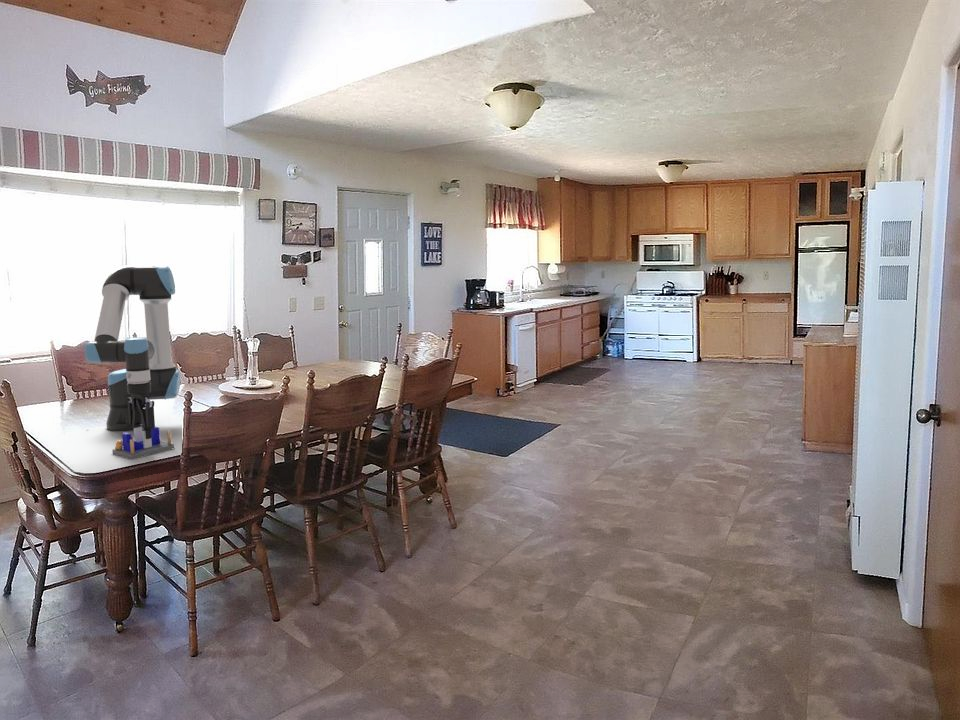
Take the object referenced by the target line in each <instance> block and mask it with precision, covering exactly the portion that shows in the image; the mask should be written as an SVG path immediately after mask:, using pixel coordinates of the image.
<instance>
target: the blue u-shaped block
mask: <svg viewBox="0 0 960 720" xmlns="http://www.w3.org/2000/svg"><path fill="white" fill-rule="evenodd" d="M121 435H122V441H123V450H125V451H129V452H131V449H130V440H131V439H133V437H132V434H131V433H129V432H122V433H121ZM151 440H152V446H153V445H157V444H160V441H161V435H160V427H157V426H155V428H152V429H151ZM141 449H145V448H144V447H143V441H141V442H135V440H134V450H135V451H136V450H141Z"/></svg>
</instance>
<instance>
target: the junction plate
mask: <svg viewBox="0 0 960 720" xmlns="http://www.w3.org/2000/svg"><path fill="white" fill-rule="evenodd" d="M166 436H167V442H166V441H161V440H160V444H157V445H153V446H152V447H149V448H145V449H141V450H136V451H135V450H134V441H135V439H134V438H132V439H131V440H130V449H131V452H129V451H125V450H123V449H121V450H118V449H115V448H112V449H111V450H112V451H111V452H112V454H113V455H115V454H116V455H117V456H119V455H120V456H119V457H122V456H123V458H126V457H127V459H129V458H131V459H130V460H134V458H135V459H138V457H139V458H143V457H146V456H145V455H147V456H149V454H150V455H154V454H157V452H158V453H162V452H166V451H168V450H169V449H170V450H173V449H172V448H174V449H175V444H174V443H172V431H171V430H167V431H166ZM165 450H166V451H165ZM161 451H162V452H161ZM153 453H154V454H153ZM142 456H143V457H142Z"/></svg>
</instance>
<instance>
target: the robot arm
mask: <svg viewBox="0 0 960 720" xmlns="http://www.w3.org/2000/svg"><path fill="white" fill-rule="evenodd" d="M174 294H176V285H175V280H174V276H173V273H172V270H171V267H169V266H167V265H161V264H160V265H159V264H150V265H149V264H148V265H147V264H146V265H145V264H144V265H142V264H141V265H133V264H132V265H130V264H129V265H124V266H121V267H118V268H117V269H116V270H114V271H113V272H112V273H111V274H109V275H108V277H107V278H106V279H105V281H104V283H103V284H102V289H101V295H102V298H103V299H102V304H101V308H100V312H99V317H98V321H97V326H96V331H95V336H94V341H89V342H86V343H85V346H84V357H85V359H86V361H87V362H88V363H90V364H93V363H94V364H104V363H125V368H123V369H118V370H115V371H112V372H110V373H109V374H108V375H107V390H108V400H109V412H108V415H107V420H106V424H105V426H106V429H107V430H109V431H119V432H120V431H131V430H133V436H134V437H133V439H134V441H135V442H141V441H143V447H144V448H149V447H152V440H151V429H152V428H155V427H156V423H155V408H154V407H155V400H169V399H175V398H177V397H178V395H179V392H180V388H181V376H182V375H181V370H180V369H177V365H176V364H175V363H174V362H172V351H171V350H172V349H171V348H172V347H171V336H170V333H171V332H170V319H169V318H170V317H169V305H168V304H169V302H170V301H172V295H174ZM132 295H133V296H139V300H140V301H141V302H142V303H143V305H144V318H145V319H144V321H145V329H146V330H145V332H146V333H145V334H146V337H130V338H126V339H124V340H119V337H120V332H121V327H122V326H121V325H122V321H123V316H124V310H125V304H126V301H127V300H129V298H130V296H132Z"/></svg>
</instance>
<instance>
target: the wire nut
mask: <svg viewBox="0 0 960 720" xmlns="http://www.w3.org/2000/svg"><path fill="white" fill-rule="evenodd" d="M114 446H115V447H114V449H118V450H121V449H123V439H122V440H120V439H117V440H116V442H115V445H114Z"/></svg>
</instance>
